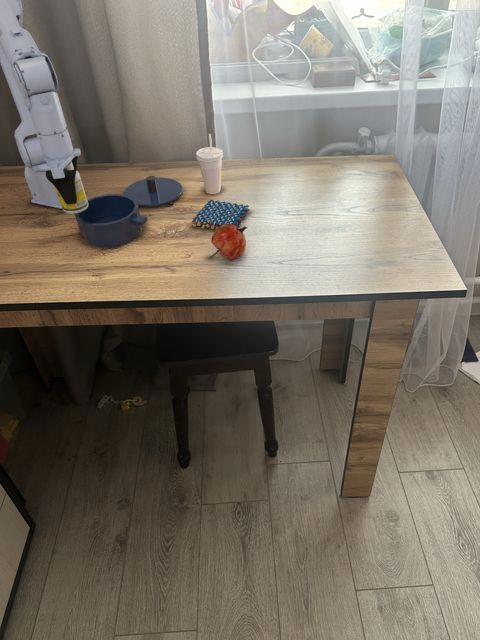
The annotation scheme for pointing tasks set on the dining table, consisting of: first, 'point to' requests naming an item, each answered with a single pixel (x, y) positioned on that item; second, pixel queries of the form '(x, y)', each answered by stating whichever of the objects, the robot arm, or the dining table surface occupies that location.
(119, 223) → the pan
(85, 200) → the supplement bottle
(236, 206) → the woven mat
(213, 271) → the dining table surface
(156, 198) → the pan lid
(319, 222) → the dining table surface
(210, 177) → the smoothie
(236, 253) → the pomegranate
